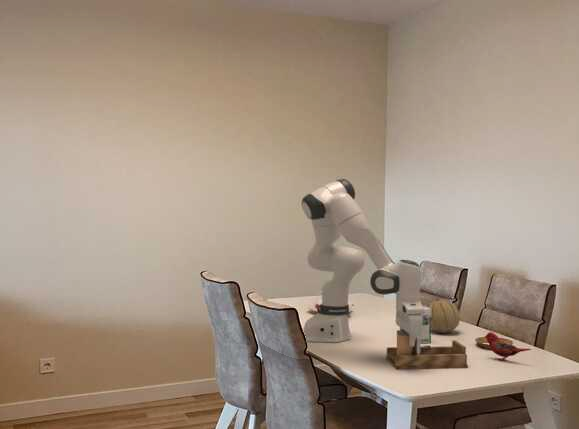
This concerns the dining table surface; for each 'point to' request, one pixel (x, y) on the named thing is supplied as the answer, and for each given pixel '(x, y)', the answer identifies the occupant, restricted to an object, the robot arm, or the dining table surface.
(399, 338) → the jar
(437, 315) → the cantaloupe
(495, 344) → the decorative bird figurine
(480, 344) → the plant saucer
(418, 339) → the pusher
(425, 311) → the syrup box
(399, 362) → the shallow wooden crate
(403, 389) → the dining table surface
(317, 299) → the crumpled cloth
